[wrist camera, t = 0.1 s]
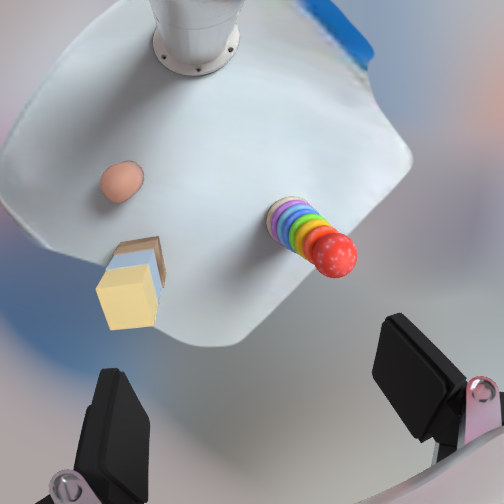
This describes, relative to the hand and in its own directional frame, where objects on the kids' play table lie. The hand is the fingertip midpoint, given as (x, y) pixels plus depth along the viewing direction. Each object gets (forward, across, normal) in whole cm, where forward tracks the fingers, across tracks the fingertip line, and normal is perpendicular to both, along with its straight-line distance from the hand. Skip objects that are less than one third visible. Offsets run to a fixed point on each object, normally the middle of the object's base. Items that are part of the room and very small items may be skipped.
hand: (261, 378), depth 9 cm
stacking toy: (+37, -12, +6) cm, 39 cm away
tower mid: (+32, +12, +9) cm, 35 cm away
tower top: (+27, +12, +9) cm, 31 cm away
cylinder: (+37, +12, -4) cm, 39 cm away
